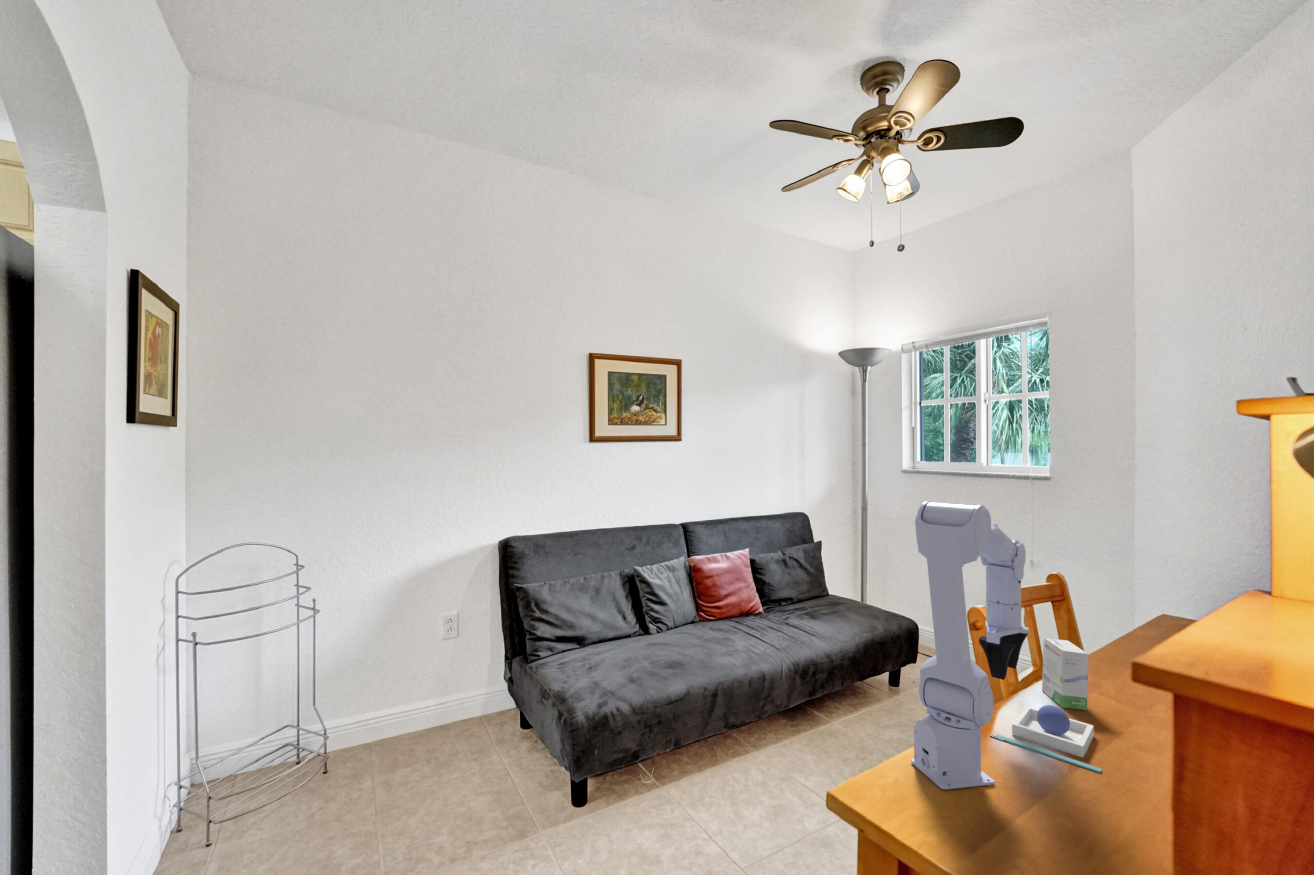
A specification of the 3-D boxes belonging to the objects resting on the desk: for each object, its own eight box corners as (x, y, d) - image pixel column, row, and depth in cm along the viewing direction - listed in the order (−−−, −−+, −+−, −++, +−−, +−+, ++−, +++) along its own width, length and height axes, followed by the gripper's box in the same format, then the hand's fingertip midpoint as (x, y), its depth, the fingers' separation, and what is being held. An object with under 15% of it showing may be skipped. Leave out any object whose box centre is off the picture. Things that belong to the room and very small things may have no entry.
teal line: (990, 736, 102) (990, 734, 102) (992, 734, 102) (992, 732, 102) (1100, 773, 90) (1100, 771, 90) (1101, 770, 91) (1101, 768, 91)
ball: (1053, 741, 99) (1053, 714, 99) (1030, 727, 104) (1030, 701, 104) (1077, 739, 100) (1077, 711, 100) (1052, 725, 105) (1052, 699, 105)
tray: (1083, 758, 95) (1083, 746, 95) (1012, 735, 102) (1012, 724, 102) (1093, 736, 102) (1093, 725, 102) (1026, 716, 110) (1026, 706, 110)
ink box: (1041, 691, 122) (1041, 637, 122) (1067, 693, 121) (1067, 638, 121) (1061, 708, 113) (1061, 650, 113) (1090, 711, 112) (1089, 652, 112)
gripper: (1017, 613, 98) (1018, 690, 98) (1037, 598, 108) (1037, 668, 108) (973, 604, 103) (974, 678, 103) (996, 591, 113) (996, 658, 113)
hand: (1003, 672), depth 105 cm, fingers open, 7 cm apart
